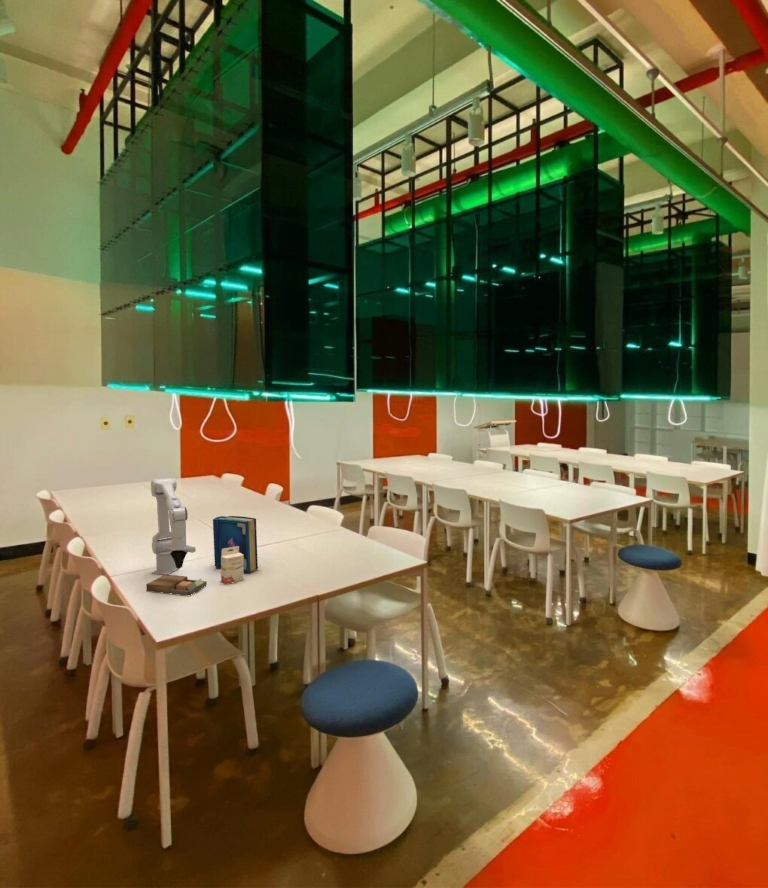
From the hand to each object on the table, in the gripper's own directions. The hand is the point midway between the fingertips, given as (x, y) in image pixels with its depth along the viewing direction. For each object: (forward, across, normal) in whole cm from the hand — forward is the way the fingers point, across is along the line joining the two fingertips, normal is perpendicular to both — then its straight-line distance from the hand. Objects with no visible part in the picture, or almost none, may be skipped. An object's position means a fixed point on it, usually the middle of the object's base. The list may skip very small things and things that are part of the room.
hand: (179, 567), depth 206 cm
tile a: (+9, +2, 0) cm, 9 cm away
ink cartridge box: (+9, +17, +14) cm, 24 cm away
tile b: (+6, +7, 0) cm, 9 cm away
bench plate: (+9, -6, 0) cm, 11 cm away
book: (+9, +10, +28) cm, 31 cm away
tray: (+9, +4, 0) cm, 10 cm away
